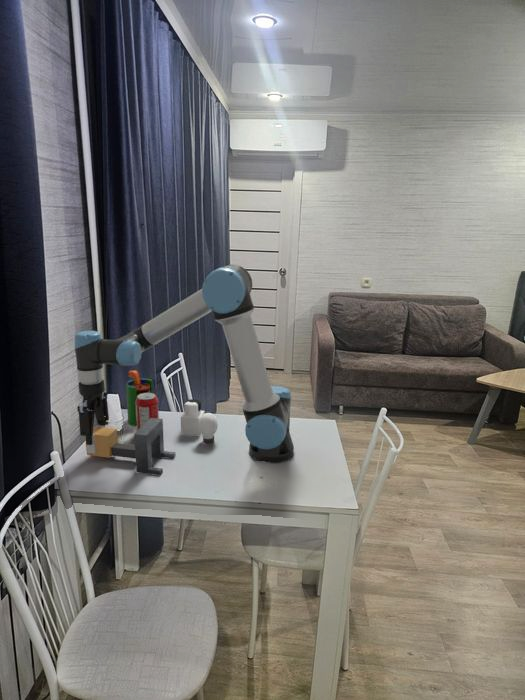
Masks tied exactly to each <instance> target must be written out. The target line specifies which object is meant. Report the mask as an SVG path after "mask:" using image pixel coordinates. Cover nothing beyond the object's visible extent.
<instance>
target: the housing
mask: <svg viewBox="0 0 525 700" xmlns="http://www.w3.org/2000/svg"><path fill="white" fill-rule="evenodd" d="M163 420H164V419H163V418H159V419H158V418H150V419H149V420H148V421H147V422H146V423H145V424H144V425H143V426H142V427H141V428H140V429H139V430H138V431H137V430H136V431H135V433H134V434H133V437H134V439H133V440H134V445H135V456H136V459H135V469H136V474H138V473H139V474H147V475H154V476H162V475H163V473H164V468H161V467H153V459H156V460H157V459H158V460H161V459H162V458H167V459H175V458H176V457H177V456H176V452H175V451H167V450H165V447H164V446H165V445H164V421H163Z"/></svg>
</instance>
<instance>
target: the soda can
mask: <svg viewBox="0 0 525 700" xmlns="http://www.w3.org/2000/svg"><path fill="white" fill-rule="evenodd" d="M135 405H136V422H137V426H136V432H137V431H138V430H139V429H140V428H141V427H142V426H143V425H144V424H145V423H146V422H147V421H148V420H149V419H150V418H158V419H160V417H159V412H160V411H159V398H158V397H157V395H156V394H155V393H142V394H139V395H138V396H137V399H136V401H135Z"/></svg>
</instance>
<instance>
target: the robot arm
mask: <svg viewBox="0 0 525 700" xmlns="http://www.w3.org/2000/svg"><path fill="white" fill-rule="evenodd" d="M252 289H253V279H252V277H251V274H250V273H249V272H248V270H247V269H246V268H244V266H241V265H238V264H228V265H225V266H221V267H218V268H216V269H213V270H212V271H211V272H210V273H209V274H208V275H207V276H206V277H205V278H204V281H203V283H202V287H201V289H199V290H197V291H196V292H194V293H192V294H191V295H189V296H188V297H186V298H185V299H183V300H181V301H179V302H178V303H177V304H175V305H173V306H171V307H170V308H169V309H167V310H165V311H163V312H162V313H159V315H156V316H155V317H154V318H152V319H150V320H149V321H147V322H146V323H144V324H142V325H140V326H139V327H137V328H135V329H134V330H132V331H131V332H129V333H126V334H125V335H123V336H122V337H120V338H118V339H106V338H105V339H104V338H102V336H101V333H100V332H99V331H96V330H83V331H80V332H77V333H76V334H75V335H74V347H73V348H74V351H75V352H74V353H75V360H76V369H77V370H76V371H77V381H78V393H79V395H81V396H82V404H81V405H78V406H77V407H76V408H77V409H76V410H77V411H78V421H79V435H80V436H83V437H85V436H86V441H85V445H86V444H87V451H86V454H87V453H94V454H95V453H96V442H95V434H93V427H94V426H95V425H94V423H95V419H96V422H97V424H96V427H105V428H106V426H108V425H109V420H110V419H109V418H110V417H109V416H110V415H109V405H108V392H106V391H105V390H106V389H105V388H106V387H105V379H104V378H105V375H104V365H113V366H123V367H127V366H131V367H132V366H137V365H138V364H139V363H140V360H141V359H142V353H143V352H146V351H147V350H149V349H150V348H152V347H154V346H155V345H157V344H159V343H160V342H162V341H164V340H165V339H167V338H169V337H170V336H172V335H174V334H175V333H178V332H179V331H180V330H182V329H184V328H185V327H188V326H189V325H191V324H193V323H195V322H196V321H197V320H199V319H201V318H203V317H204V316H206V315H208V314H209V313H212V315H213V320H214V321H215V322H217V323H219V324H220V325H221V326H222V329H223V333H224V336H225V341H227V345H228V348H229V352H230V355H231V359H232V362H233V366H234V368H235V371H236V374H237V379H238V381H239V382H238V383H239V386H240V388H241V392H242V395H243V398H244V402H243V403H242V406H241V409H242V413H243V415H244V418H245V422H246V424H245V428H244V430H245V437H246V439H247V441H248V442H249V446H248V452H249V454H250V455H249V456H251V457H252V458H253V459H254V460H256V461H259V462H262V463H267V464H268V463H269V464H276V463H277V464H278V463H283V462H286V461H288V460H290V459H292V457H293V455H294V451H295V447H294V443H293V439H292V436H291V432H290V422H291V400H292V392H291V390H290V389H289V388H287V387H284V386H277V385H271V380H270V377H269V375H268V371H267V368H266V364H265V360H264V357H263V354H262V350H261V347H260V343H259V340H258V336H257V334H256V329H255V326H254V322H253V319H252V314H253V312H254V310H255V307H254V303H253V300H252V295H251V292H252Z"/></svg>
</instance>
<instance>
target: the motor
mask: <svg viewBox="0 0 525 700" xmlns="http://www.w3.org/2000/svg"><path fill="white" fill-rule="evenodd" d="M128 378H133V379H131V380H128V381H126V383H125V386H126V387H125V388H126V390H125V391H126V411H127V424H129V425H130V426H131V427H137V422H136V405H135V401H136V399H137V396H138V395H139V394H142V393H153V389H154V388H153V380H152V379H149V378H140V374H139V372H138V370H135V369H134V370H129V371H128Z"/></svg>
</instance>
